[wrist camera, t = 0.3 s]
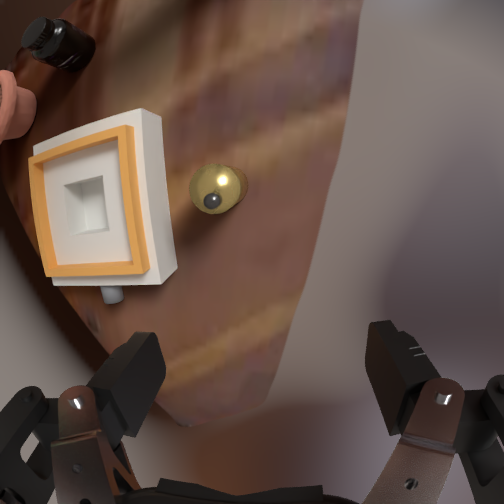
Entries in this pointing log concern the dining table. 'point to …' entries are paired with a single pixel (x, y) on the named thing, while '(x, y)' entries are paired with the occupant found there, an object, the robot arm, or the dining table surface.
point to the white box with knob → (104, 205)
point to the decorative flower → (15, 107)
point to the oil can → (217, 188)
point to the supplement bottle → (59, 44)
